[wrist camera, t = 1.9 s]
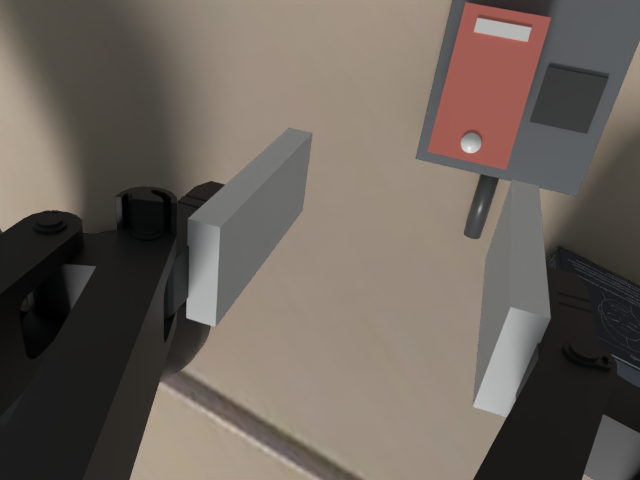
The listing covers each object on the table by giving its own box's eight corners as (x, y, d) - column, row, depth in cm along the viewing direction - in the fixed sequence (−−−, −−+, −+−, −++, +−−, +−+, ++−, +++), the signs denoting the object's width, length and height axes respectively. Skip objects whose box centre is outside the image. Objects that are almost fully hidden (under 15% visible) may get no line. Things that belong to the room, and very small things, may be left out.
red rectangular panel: (428, 150, 33) (427, 151, 32) (465, 6, 31) (465, 2, 30) (504, 167, 33) (506, 170, 31) (548, 20, 30) (551, 17, 29)
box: (514, 298, 44) (514, 393, 35) (558, 242, 41) (570, 331, 32) (608, 346, 43) (631, 455, 35) (659, 294, 40) (699, 398, 32)
